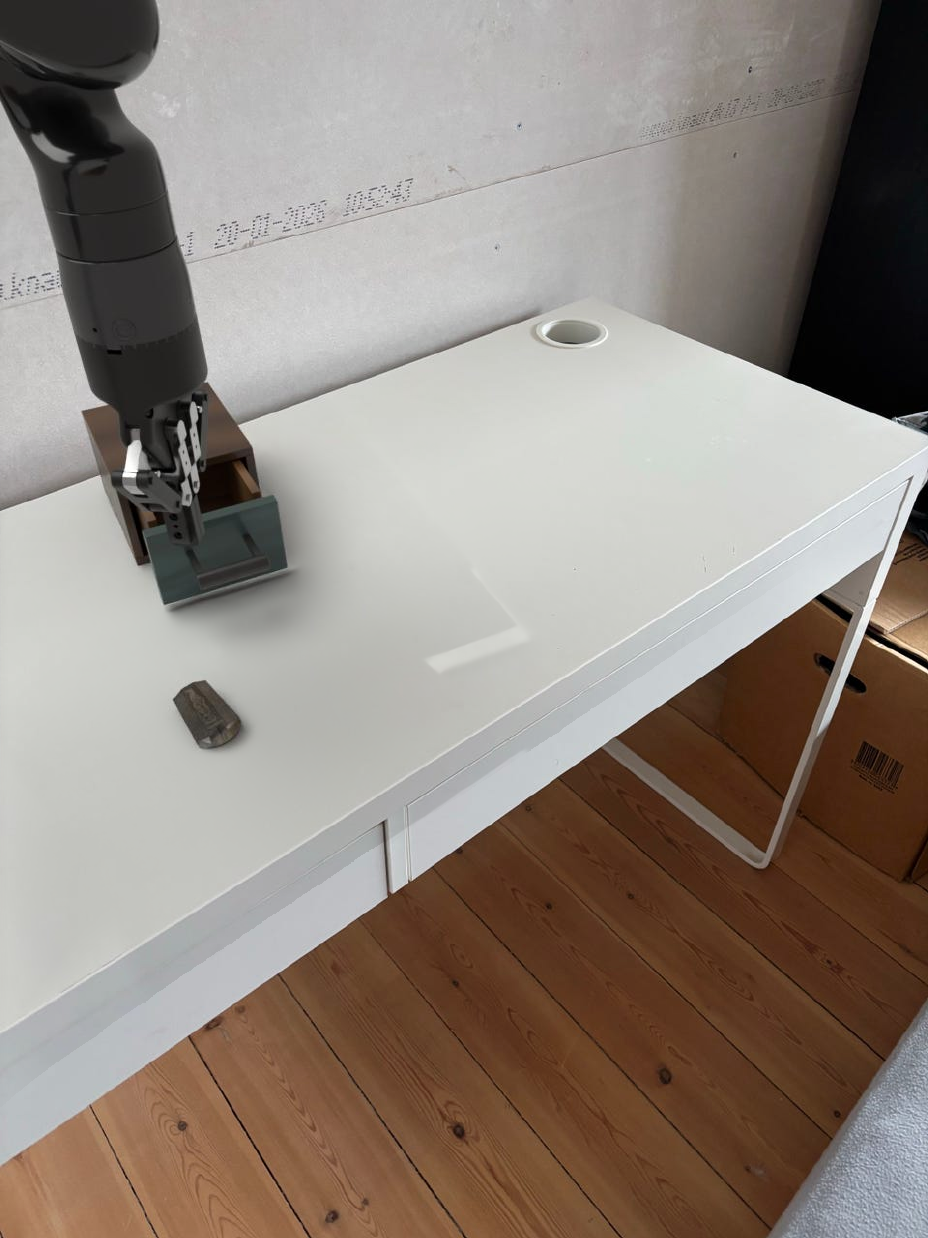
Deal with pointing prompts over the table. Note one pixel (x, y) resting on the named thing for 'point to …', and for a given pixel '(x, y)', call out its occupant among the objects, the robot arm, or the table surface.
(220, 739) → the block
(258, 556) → the drawer
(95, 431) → the cabinet
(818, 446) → the table surface
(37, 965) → the table surface
